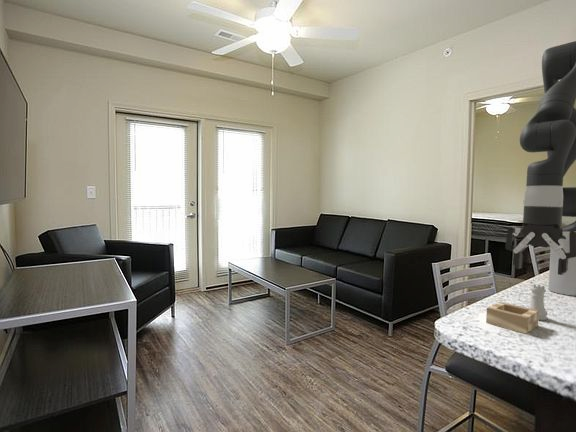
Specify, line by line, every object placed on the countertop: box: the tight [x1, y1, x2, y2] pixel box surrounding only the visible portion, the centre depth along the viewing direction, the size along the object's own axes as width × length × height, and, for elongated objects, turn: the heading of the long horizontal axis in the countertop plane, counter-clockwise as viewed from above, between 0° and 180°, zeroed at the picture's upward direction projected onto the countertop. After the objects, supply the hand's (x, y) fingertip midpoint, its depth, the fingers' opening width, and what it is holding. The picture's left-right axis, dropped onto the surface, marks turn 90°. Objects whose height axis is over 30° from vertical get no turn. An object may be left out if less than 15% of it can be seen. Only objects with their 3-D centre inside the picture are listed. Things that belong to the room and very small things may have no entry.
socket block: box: [485, 301, 539, 334], centre depth 78 cm, size 8×8×4 cm
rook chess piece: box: [527, 284, 548, 321], centre depth 83 cm, size 4×4×8 cm
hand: (538, 271), depth 82 cm, fingers open, 8 cm apart
